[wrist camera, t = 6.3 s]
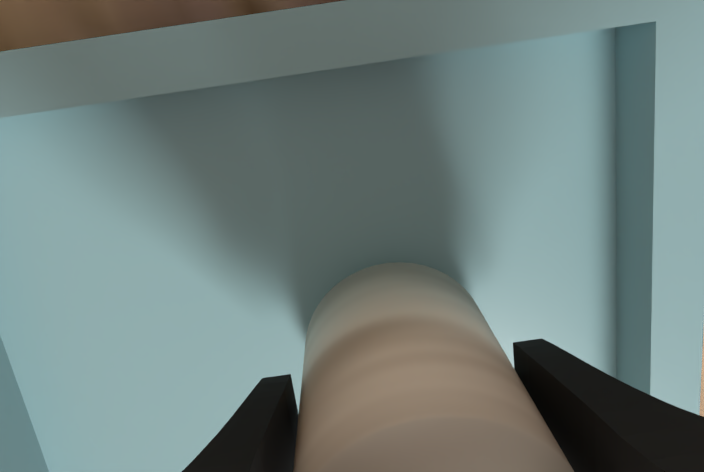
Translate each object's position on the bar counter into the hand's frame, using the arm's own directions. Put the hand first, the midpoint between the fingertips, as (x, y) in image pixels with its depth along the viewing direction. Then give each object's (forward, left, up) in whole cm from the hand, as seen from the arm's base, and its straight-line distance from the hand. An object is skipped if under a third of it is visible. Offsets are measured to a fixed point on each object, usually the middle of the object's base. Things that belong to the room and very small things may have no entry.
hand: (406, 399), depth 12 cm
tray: (0, +2, -4) cm, 4 cm away
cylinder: (0, 0, -2) cm, 2 cm away
